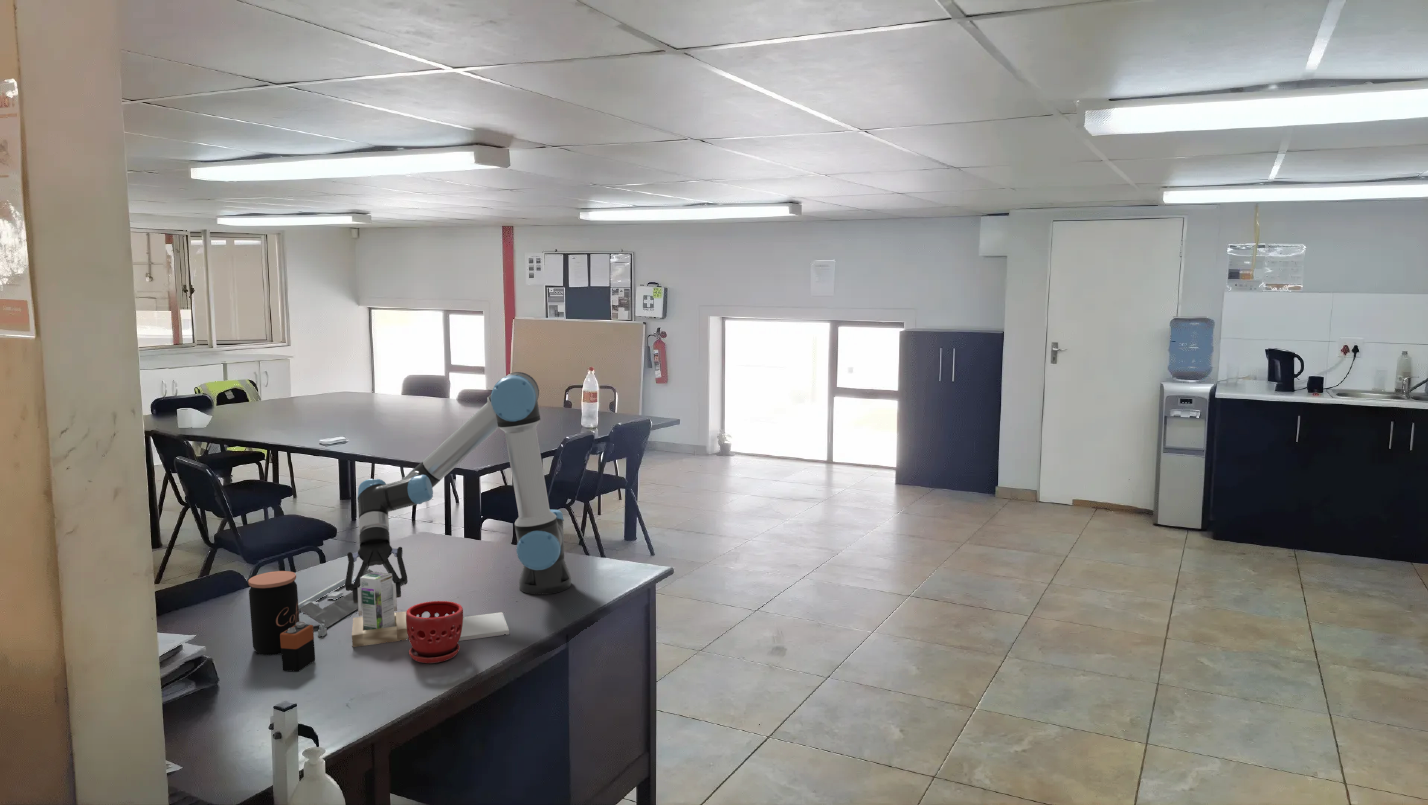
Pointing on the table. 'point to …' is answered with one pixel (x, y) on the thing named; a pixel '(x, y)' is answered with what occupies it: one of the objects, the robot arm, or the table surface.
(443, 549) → the table surface
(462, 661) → the table surface
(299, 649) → the battery
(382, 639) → the wooden holder
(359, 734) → the table surface
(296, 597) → the coffee jar
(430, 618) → the plant pot
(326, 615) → the paper cutter
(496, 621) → the white mat
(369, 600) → the syrup box
